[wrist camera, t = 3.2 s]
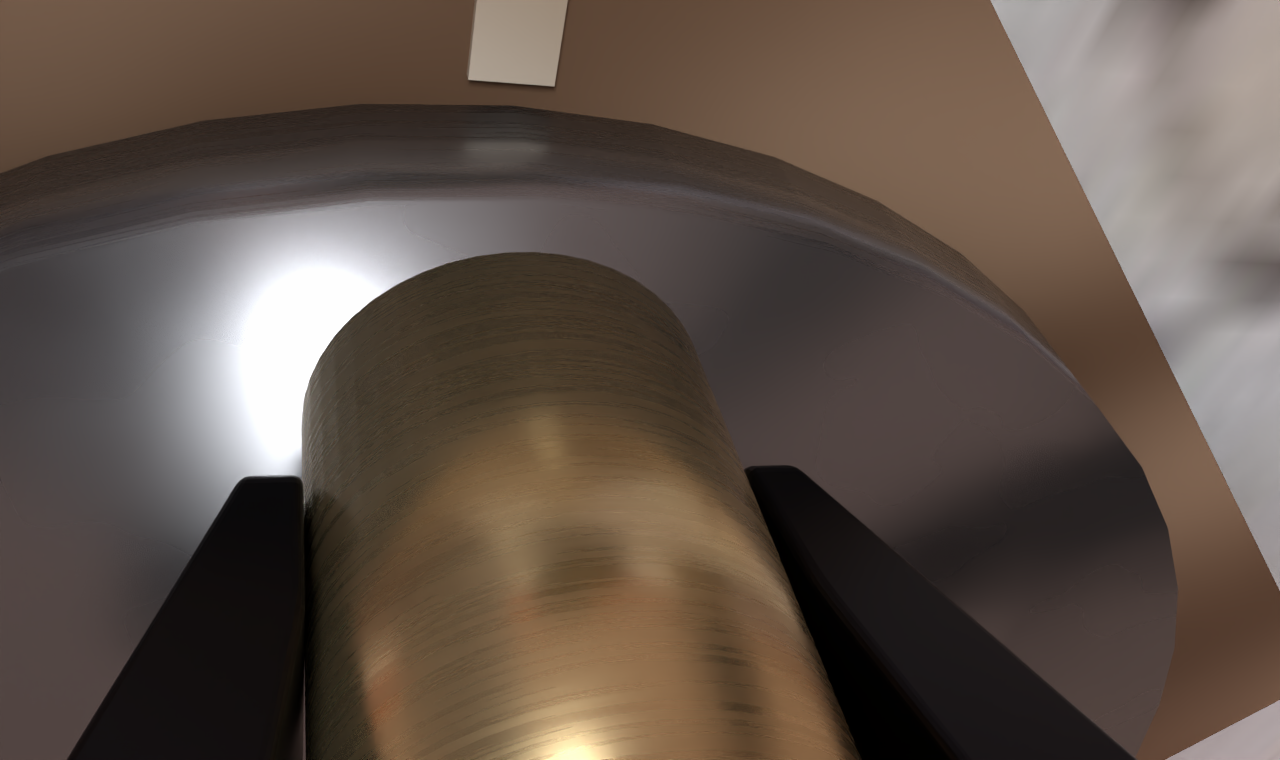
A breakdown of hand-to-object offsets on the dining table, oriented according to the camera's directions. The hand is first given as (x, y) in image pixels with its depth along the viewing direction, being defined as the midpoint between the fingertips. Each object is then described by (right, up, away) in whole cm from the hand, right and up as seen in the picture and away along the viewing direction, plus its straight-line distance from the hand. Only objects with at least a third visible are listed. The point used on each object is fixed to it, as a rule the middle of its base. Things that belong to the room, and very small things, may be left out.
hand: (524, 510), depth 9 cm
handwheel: (-2, -4, +6) cm, 8 cm away
